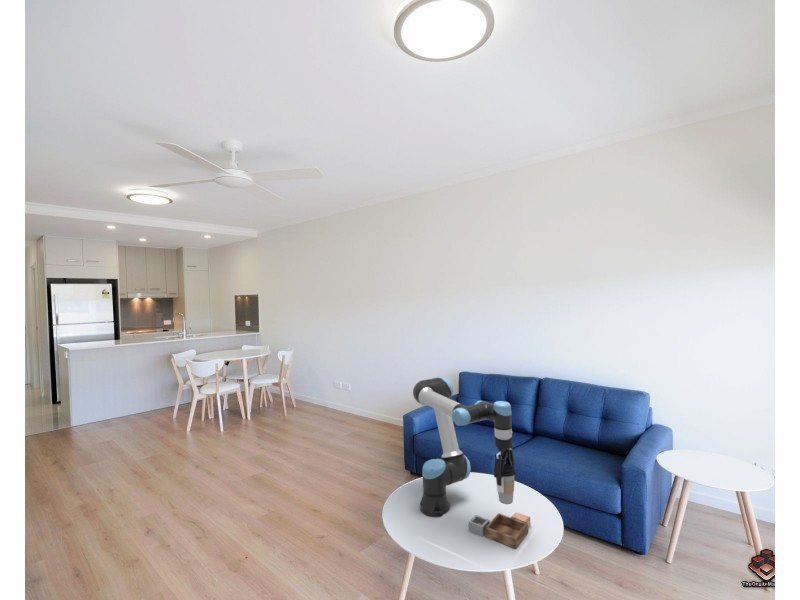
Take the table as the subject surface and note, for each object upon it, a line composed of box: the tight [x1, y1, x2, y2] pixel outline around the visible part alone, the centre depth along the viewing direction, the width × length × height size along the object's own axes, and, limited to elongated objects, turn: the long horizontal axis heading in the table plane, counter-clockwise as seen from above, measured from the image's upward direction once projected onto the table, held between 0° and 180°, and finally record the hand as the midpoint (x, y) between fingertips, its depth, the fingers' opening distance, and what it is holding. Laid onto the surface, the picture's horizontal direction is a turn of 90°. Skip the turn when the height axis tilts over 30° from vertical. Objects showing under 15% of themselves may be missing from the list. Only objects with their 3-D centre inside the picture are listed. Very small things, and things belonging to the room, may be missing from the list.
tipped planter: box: [510, 511, 531, 530], centre depth 178 cm, size 7×5×5 cm
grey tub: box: [468, 514, 491, 537], centre depth 176 cm, size 7×7×5 cm
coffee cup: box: [495, 463, 517, 505], centre depth 172 cm, size 9×9×15 cm
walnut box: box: [484, 513, 529, 550], centre depth 172 cm, size 14×14×5 cm
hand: (505, 487), depth 172 cm, fingers closed on coffee cup, 9 cm apart
